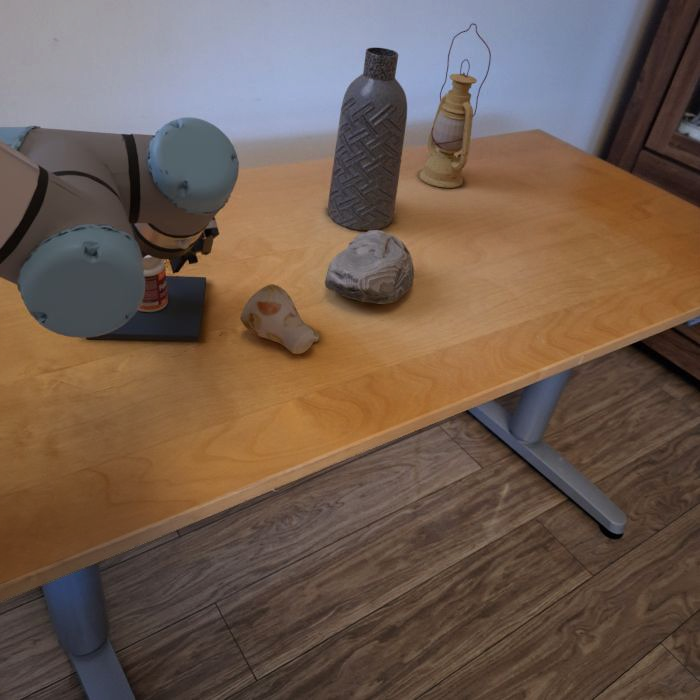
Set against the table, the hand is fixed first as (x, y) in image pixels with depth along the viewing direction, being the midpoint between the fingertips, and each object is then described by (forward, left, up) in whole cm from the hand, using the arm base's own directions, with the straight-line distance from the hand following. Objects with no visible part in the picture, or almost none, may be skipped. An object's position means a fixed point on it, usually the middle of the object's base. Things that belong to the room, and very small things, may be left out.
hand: (140, 269), depth 85 cm
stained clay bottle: (+19, -9, -5) cm, 22 cm away
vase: (+34, +28, -5) cm, 45 cm away
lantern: (+54, +47, -5) cm, 72 cm away
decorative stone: (+32, +4, -5) cm, 33 cm away
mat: (+1, -3, -4) cm, 6 cm away
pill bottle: (+1, -3, -4) cm, 5 cm away
